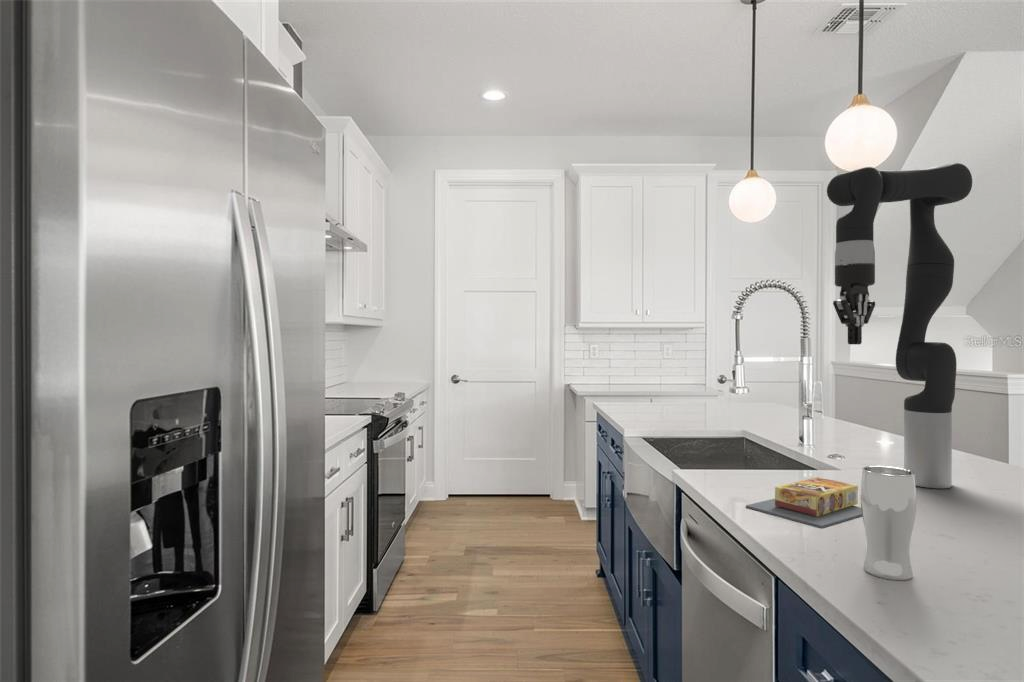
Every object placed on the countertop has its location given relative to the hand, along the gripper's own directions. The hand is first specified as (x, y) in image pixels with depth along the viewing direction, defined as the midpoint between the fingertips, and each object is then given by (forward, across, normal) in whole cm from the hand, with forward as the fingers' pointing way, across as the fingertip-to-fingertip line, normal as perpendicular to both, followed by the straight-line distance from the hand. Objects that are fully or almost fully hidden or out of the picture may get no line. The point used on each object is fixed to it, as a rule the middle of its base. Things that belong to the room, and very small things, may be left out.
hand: (854, 344), depth 130 cm
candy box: (+30, +7, 0) cm, 31 cm away
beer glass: (+33, +38, +25) cm, 56 cm away
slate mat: (+33, +17, 0) cm, 37 cm away
